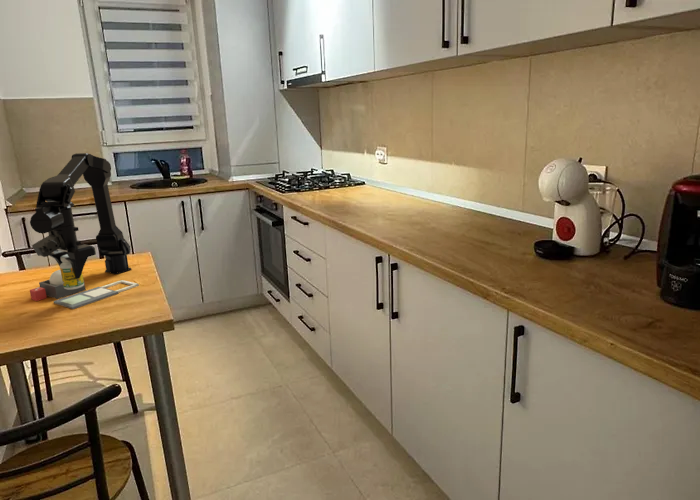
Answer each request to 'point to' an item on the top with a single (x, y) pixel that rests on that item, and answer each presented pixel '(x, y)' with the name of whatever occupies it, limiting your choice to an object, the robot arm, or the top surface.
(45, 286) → the dome housing
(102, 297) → the game board
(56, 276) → the dome
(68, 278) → the supplement bottle
